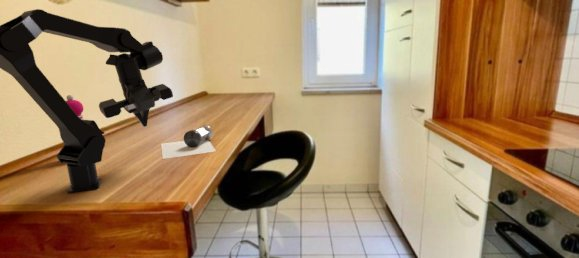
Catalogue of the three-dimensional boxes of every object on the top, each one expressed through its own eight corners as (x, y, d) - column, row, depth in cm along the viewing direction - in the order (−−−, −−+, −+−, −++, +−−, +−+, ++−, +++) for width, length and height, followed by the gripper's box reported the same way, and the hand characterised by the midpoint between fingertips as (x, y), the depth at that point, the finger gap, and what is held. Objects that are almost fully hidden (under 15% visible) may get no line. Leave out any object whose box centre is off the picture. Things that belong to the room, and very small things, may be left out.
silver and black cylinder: (201, 137, 110) (216, 130, 120) (188, 127, 110) (203, 121, 120) (194, 150, 111) (209, 142, 122) (181, 141, 112) (196, 134, 122)
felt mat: (216, 152, 106) (216, 151, 105) (162, 159, 100) (162, 158, 100) (207, 138, 124) (206, 137, 124) (161, 144, 118) (161, 143, 118)
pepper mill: (64, 162, 101) (51, 97, 97) (72, 156, 108) (60, 94, 104) (90, 159, 103) (78, 95, 99) (96, 153, 110) (86, 93, 106)
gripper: (102, 95, 80) (121, 149, 88) (175, 74, 90) (186, 124, 98) (89, 82, 87) (108, 133, 95) (158, 64, 98) (170, 112, 105)
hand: (144, 126), depth 98 cm, fingers closed
